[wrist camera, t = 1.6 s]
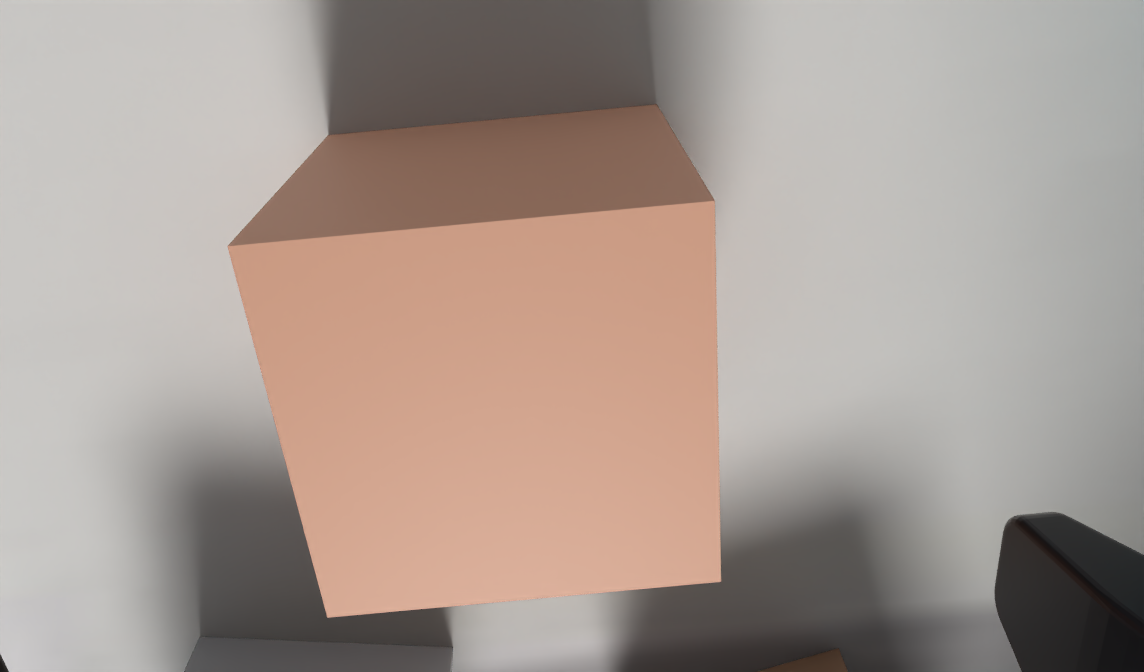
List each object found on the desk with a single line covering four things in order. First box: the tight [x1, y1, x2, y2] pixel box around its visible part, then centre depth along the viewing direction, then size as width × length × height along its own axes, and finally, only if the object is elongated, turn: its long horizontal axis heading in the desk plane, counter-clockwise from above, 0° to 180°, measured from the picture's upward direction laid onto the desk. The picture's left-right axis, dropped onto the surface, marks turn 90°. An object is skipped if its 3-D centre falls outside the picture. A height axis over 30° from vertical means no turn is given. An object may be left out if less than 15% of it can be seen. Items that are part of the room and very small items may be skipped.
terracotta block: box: [228, 104, 721, 618], centre depth 12 cm, size 5×5×5 cm
